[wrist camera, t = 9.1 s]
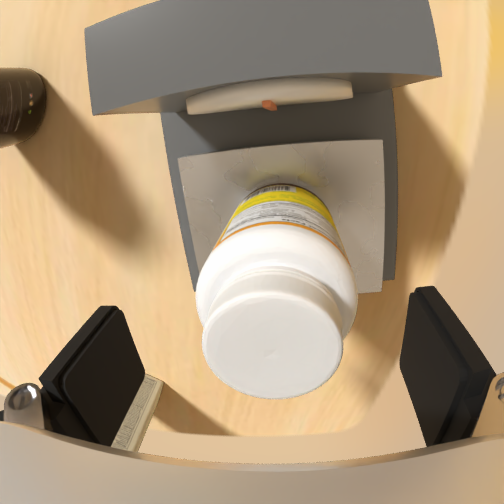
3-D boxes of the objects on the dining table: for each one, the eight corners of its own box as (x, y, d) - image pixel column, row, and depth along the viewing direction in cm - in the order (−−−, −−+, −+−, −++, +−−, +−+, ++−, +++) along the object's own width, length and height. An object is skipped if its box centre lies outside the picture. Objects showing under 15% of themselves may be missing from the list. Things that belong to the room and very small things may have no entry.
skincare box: (109, 380, 32) (60, 463, 21) (111, 355, 30) (54, 444, 19) (160, 403, 32) (122, 493, 21) (166, 380, 30) (123, 479, 19)
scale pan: (374, 276, 20) (381, 291, 19) (212, 286, 22) (205, 301, 20) (373, 137, 17) (382, 139, 15) (188, 154, 19) (177, 158, 17)
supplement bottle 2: (291, 291, 19) (284, 435, 10) (214, 237, 19) (142, 357, 9) (354, 221, 17) (412, 339, 8) (272, 158, 16) (245, 215, 7)
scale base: (387, 266, 22) (438, 369, 12) (201, 278, 25) (147, 380, 15) (376, 40, 16) (446, -18, 6) (165, 63, 19) (64, 34, 8)
